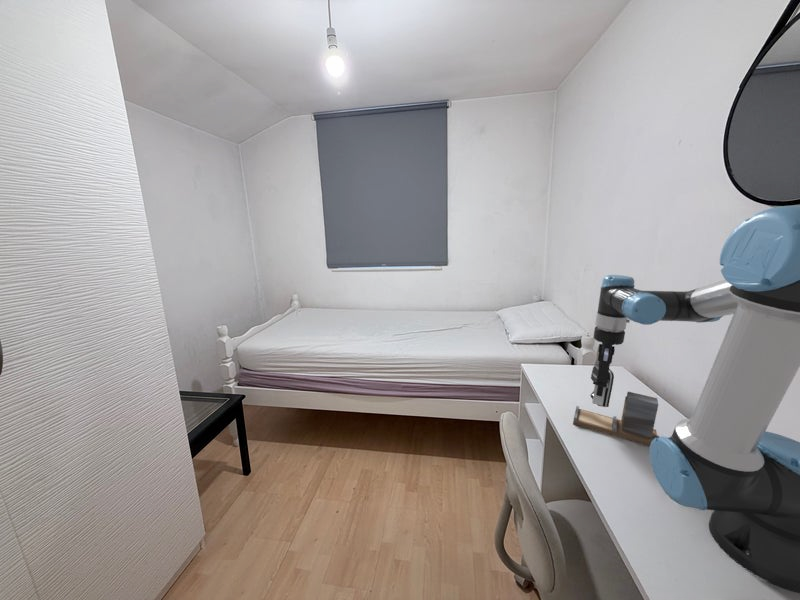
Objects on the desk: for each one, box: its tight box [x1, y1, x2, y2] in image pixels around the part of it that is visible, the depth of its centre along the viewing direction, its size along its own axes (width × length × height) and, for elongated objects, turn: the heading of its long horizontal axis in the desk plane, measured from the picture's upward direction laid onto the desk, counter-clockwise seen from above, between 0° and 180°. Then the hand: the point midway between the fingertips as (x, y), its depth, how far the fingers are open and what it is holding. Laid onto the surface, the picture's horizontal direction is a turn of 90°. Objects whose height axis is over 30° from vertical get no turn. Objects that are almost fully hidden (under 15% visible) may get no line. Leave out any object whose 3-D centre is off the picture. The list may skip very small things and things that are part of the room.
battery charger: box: [590, 364, 615, 408], centre depth 99 cm, size 7×4×11 cm, turn 170°
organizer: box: [572, 391, 659, 448], centre depth 98 cm, size 8×21×12 cm, turn 57°
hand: (598, 398), depth 100 cm, fingers closed on battery charger, 7 cm apart
